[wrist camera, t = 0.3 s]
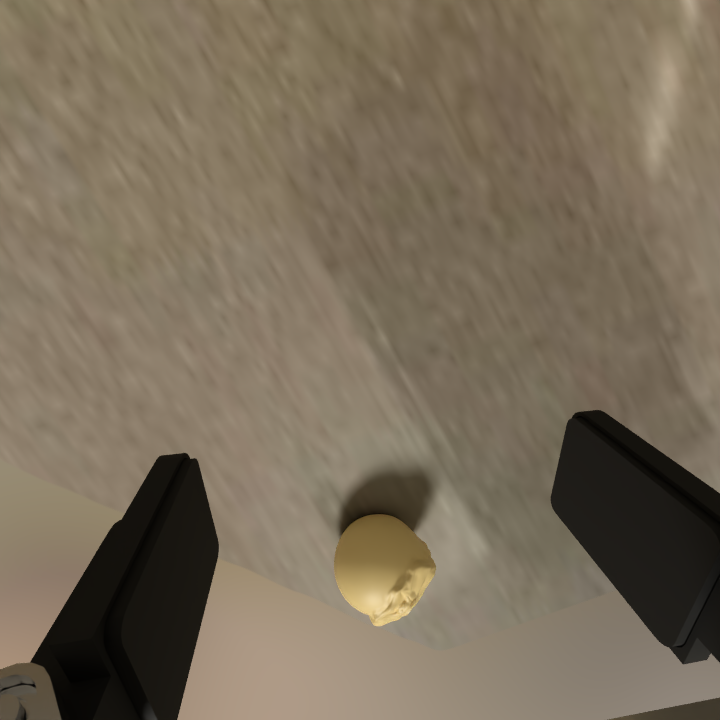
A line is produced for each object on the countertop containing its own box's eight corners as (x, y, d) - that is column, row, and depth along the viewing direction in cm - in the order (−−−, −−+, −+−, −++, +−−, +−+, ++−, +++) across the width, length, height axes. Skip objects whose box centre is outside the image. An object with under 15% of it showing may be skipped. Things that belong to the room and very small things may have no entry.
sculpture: (390, 570, 56) (407, 649, 46) (318, 551, 52) (321, 631, 43) (430, 517, 53) (459, 589, 43) (357, 491, 49) (370, 564, 39)
